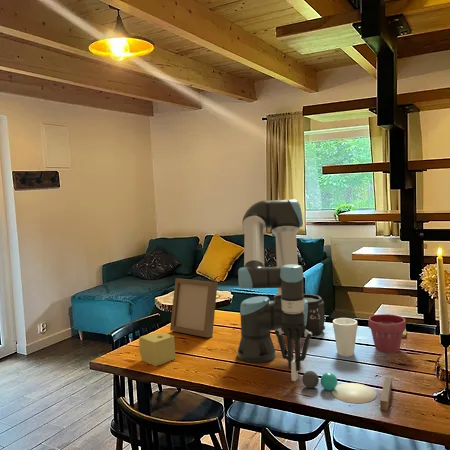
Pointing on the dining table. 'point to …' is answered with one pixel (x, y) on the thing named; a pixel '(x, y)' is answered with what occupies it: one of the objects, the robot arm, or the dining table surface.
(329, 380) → the object ball
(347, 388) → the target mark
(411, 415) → the dining table surface
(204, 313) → the photo frame
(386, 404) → the rail
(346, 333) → the foam cup
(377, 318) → the plant pot
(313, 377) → the gray ball
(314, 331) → the black lettered pot
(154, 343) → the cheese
